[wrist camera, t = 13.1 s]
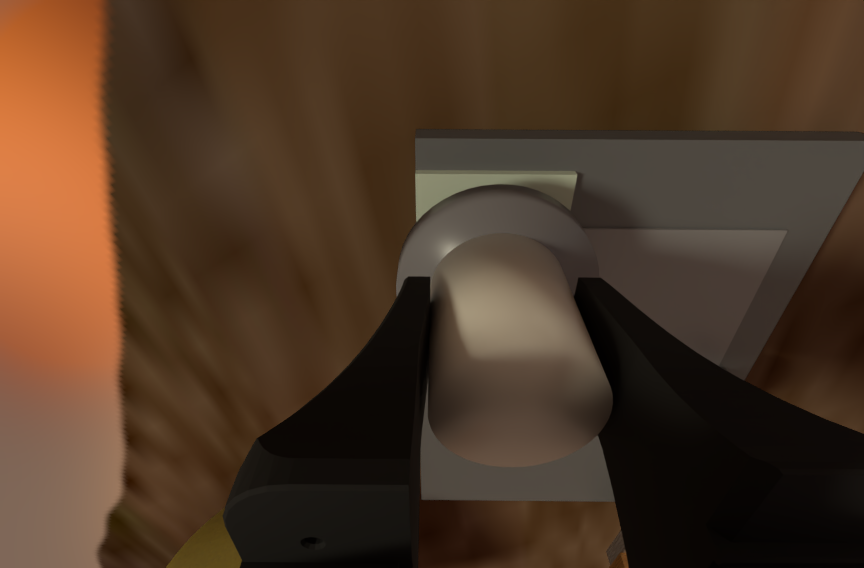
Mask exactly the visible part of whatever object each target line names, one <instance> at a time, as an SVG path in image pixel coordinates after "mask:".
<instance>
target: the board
mask: <svg viewBox="0 0 864 568" xmlns="http://www.w3.org/2000/svg"><path fill="white" fill-rule="evenodd" d="M415 154H416V170H474V171H575V172H576V173H577V180H576V185H575V190H574V195H573V200H572V205H571V210H570V211H571V213H572V214H573V215H574V216H575V217H576V218H577V220H578V221H579V223H580V225H581V226H582V228H583V230H584V232H585V233H586V235H587V237H588V239H589V241H590V242H591V244H592V246H593V249H594V251H595V254H596V256H597V261H598V266H599V278H602V279H603V280H605V281H606V282H607V283H608V284H610V285H611V286H612V287H613V288H614V289H616V290H617V291H618V292H619V293H620V294H622V295H623V296H624V297H625V298H626V299H628V300H629V301H630V302H631V303H632V304H633V305H635V306H636V307H637V308H638V309H639V310H641V311H642V312H643V313H644V314H646V315H647V316H648V317H649V318H651V319H652V320H653V321H654V322H656V323H657V324H658V325H659V326H661V327H662V328H663V329H665V330H666V331H667V332H669V333H670V334H671V335H673V336H674V337H676V338H677V339H678V340H680V341H681V342H683V343H684V344H685V345H687V346H688V347H690V348H691V349H693V350H694V351H696V352H697V353H699V354H700V355H702V356H703V357H705V358H707V359H708V360H710V361H711V362H713V363H715V364H716V365H718V366H719V367H721V368H723V369H724V370H726V371H728V372H730V373H731V374H733V375H735V376H737V377H738V378H740V379H742V380H745V379H746V377H747V375H748V373H749V372H750V370H751V368H752V366H753V365H754V363H755V361H756V359H757V358H758V356H759V354H760V352H761V351H762V349H763V347H764V345H765V344H766V342H767V340H768V338H769V337H770V335H771V333H772V331H773V330H774V328H775V326H776V324H777V322H778V321H779V319H780V317H781V315H782V314H783V312H784V310H785V308H786V307H787V305H788V303H789V301H790V300H791V298H792V296H793V294H794V293H795V291H796V289H797V287H798V286H799V284H800V282H801V280H802V279H803V277H804V275H805V273H806V272H807V270H808V268H809V266H810V265H811V263H812V261H813V259H814V258H815V256H816V254H817V252H818V251H819V249H820V247H821V245H822V244H823V242H824V240H825V238H826V237H827V235H828V233H829V231H830V230H831V228H832V226H833V224H834V222H835V221H836V219H837V217H838V215H839V214H840V212H841V210H842V208H843V207H844V205H845V203H846V201H847V200H848V198H849V196H850V194H851V193H852V191H853V189H854V187H855V186H856V184H857V182H858V180H859V179H860V177H861V175H862V173H863V172H864V134H862V133H860V132H791V131H620V130H450V129H416V136H415ZM421 499H422V500H499V501H613V502H615V499H614V495H613V490H612V486H611V482H610V478H609V474H608V470H607V466H606V462H605V458H604V454H603V450H602V447H601V444H600V440H599V437H598V435H597V436H596V437H595V438H594V439H593V440H592V441H590V442H589V443H588V444H586V445H585V446H584V447H582V448H580V449H579V450H577V451H575V452H573V453H571V454H569V455H567V456H565V457H562V458H560V459H557V460H554V461H551V462H547V463H543V464H539V465H533V466H526V467H497V466H489V465H484V464H480V463H476V462H472V461H470V460H467V459H465V458H462V457H460V456H458V455H456V454H455V453H453V452H452V451H450V450H449V449H447V448H446V447H445V446H444V445H443V444H441V443H440V441H439V440H438V439H437V438H436V436H435V435H434V433H433V432H432V430H431V427H430V424H429V420H428V385H427V393H426V402H425V410H424V418H423V427H422V436H421Z"/></svg>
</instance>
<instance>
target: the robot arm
mask: <svg viewBox="0 0 864 568" xmlns="http://www.w3.org/2000/svg"><path fill="white" fill-rule="evenodd" d="M574 299H575V302H576V304H577V306H578V309H579V311H580V314H581V316H582V319H583V321H584V323H585V326H586V328H587V331H588V333H589V336H590V338H591V340H592V343H593V345H594V348H595V350H596V353H597V355H598V357H599V360H600V362H601V365H602V367H603V370H604V372H605V374H606V377H607V379H608V382H609V384H610V387H611V390H612V395H613V406H612V411H611V414H610V417H609V419H608V421H607V423H606V424H605V426H604V428H603V429H602V430H601V431H600V433H599V434H598V437H599V440H600V444H601V447H602V450H603V454H604V458H605V462H606V466H607V470H608V474H609V478H610V482H611V486H612V490H613V495H614V499H615V503H616V508H617V512H618V517H619V521H620V526H621V531H622V536H623V541H624V546H625V551H626V556H627V561H628V566H629V568H864V434H862V433H860V432H857V431H855V430H852V429H849V428H847V427H844V426H842V425H839V424H836V423H834V422H831V421H829V420H826V419H824V418H821V417H819V416H817V415H815V414H812V413H810V412H808V411H806V410H803V409H801V408H799V407H797V406H794V405H792V404H790V403H788V402H786V401H783V400H781V399H779V398H777V397H775V396H773V395H771V394H769V393H767V392H765V391H763V390H761V389H759V388H757V387H755V386H754V385H752V384H750V383H748V382H746V381H744V380H742V379H740V378H738V377H737V376H735V375H733V374H731V373H730V372H728V371H726V370H724V369H723V368H721V367H719V366H718V365H716V364H715V363H713V362H711V361H710V360H708V359H707V358H705V357H703V356H702V355H700V354H699V353H697V352H696V351H694V350H693V349H691V348H690V347H688V346H687V345H685V344H684V343H683V342H681V341H680V340H678V339H677V338H676V337H674V336H673V335H671V334H670V333H669V332H667V331H666V330H665V329H663V328H662V327H661V326H659V325H658V324H657V323H656V322H654V321H653V320H652V319H651V318H649V317H648V316H647V315H646V314H644V313H643V312H642V311H641V310H639V309H638V308H637V307H636V306H635V305H633V304H632V303H631V302H630V301H629V300H628V299H626V298H625V297H624V296H623V295H622V294H620V293H619V292H618V291H617V290H616V289H614V288H613V287H612V286H611V285H610V284H608V283H607V282H606V281H605V280H603V279H602V278H591V277H578V281H577V286H576V290H575V294H574ZM429 331H430V277H426V276H408V277H407V278H406V279H405V280H404V282H403V285H402V287H401V290H400V292H399V294H398V296H397V298H396V300H395V302H394V304H393V305H392V307H391V309H390V310H389V312H388V314H387V315H386V317H385V319H384V320H383V322H382V323H381V325H380V326H379V328H378V329H377V330H376V332H375V333H374V335H373V336H372V337H371V339H370V340H369V341H368V343H367V344H366V345H365V347H364V348H363V349H362V350H361V352H360V353H359V354H358V355H357V356H356V357H355V358H354V360H353V361H352V362H351V363H350V364H349V365H348V366H347V367H346V368H345V369H344V370H343V371H342V372H341V373H340V374H339V375H338V376H337V377H336V378H335V379H334V380H333V381H332V382H331V383H330V384H329V385H328V386H327V387H326V388H325V389H324V390H323V391H321V392H320V393H319V394H318V395H317V396H315V397H314V398H313V399H312V400H310V401H309V402H308V403H307V404H306V405H304V406H303V407H302V408H301V409H300V410H298V411H297V412H296V413H294V414H293V415H292V416H290V417H289V418H287V419H286V420H284V421H283V422H281V423H280V424H278V425H277V426H275V427H274V428H272V429H271V430H269V431H268V432H267V433H265V434H263V435H262V436H260V437H259V438H257V439H256V441H255V442H254V444H253V446H252V448H251V450H250V451H249V453H248V455H247V457H246V459H245V461H244V463H243V464H242V466H241V468H240V470H239V472H238V475H237V477H236V479H235V482H234V485H233V487H232V490H231V493H230V495H229V498H228V501H227V504H226V506H225V510H224V513H223V520H224V524H225V527H226V529H227V531H228V533H229V535H230V537H231V539H232V541H233V543H234V545H235V547H236V549H237V551H238V553H239V555H240V557H241V559H242V562H241V565H240V568H418V544H419V496H420V452H421V436H422V427H423V418H424V410H425V402H426V393H427V385H428V369H429Z"/></svg>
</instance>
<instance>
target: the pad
mask: <svg viewBox="0 0 864 568" xmlns="http://www.w3.org/2000/svg"><path fill="white" fill-rule="evenodd" d="M415 177H416V222H417V221H418V220H419V219H420V218H421V217H422V215H424V214H425V213H426V212H427V211H428V210H429V209H430V208H432V207H433V206H434V205H436V204H437V203H439V202H440V201H442V200H443V199H445V198H447V197H449V196H451V195H453V194H455V193H458V192H461V191H464V190H467V189H470V188H474V187H479V186H483V185H494V184H509V185H517V186H524V187H528V188H531V189H535V190H538V191H540V192H542V193H545V194H547V195H549V196H551V197H553V198H554V199H556V200H557V201H559V202H560V203H562V204H563V205H564V206H565V207H566V208H567V209H569V210H571V205H572V200H573V195H574V190H575V185H576V180H577V173H576V172H575V171H474V170H416V173H415Z"/></svg>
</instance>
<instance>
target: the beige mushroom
mask: <svg viewBox="0 0 864 568" xmlns="http://www.w3.org/2000/svg"><path fill="white" fill-rule="evenodd" d="M408 276H426V277H430V331H429V369H428V420H429V424H430V427H431V430H432V432H433V433H434V435H435V436H436V438H437V439H438V440H439V441H440V443H441V444H443V445H444V446H445V447H446V448H447V449H449V450H450V451H452V452H453V453H455V454H456V455H458V456H460V457H462V458H465V459H467V460H470V461H472V462H476V463H480V464H484V465H489V466H497V467H526V466H533V465H539V464H543V463H547V462H551V461H554V460H557V459H560V458H562V457H565V456H567V455H569V454H571V453H573V452H575V451H577V450H579V449H580V448H582V447H584V446H585V445H586V444H588V443H589V442H590V441H592V440H593V439H594V438H595V437H596V436H597V435H598V434H599V433H600V431H601V430H602V429H603V428H604V426H605V424H606V423H607V421H608V419H609V417H610V414H611V411H612V406H613V395H612V390H611V387H610V384H609V382H608V379H607V377H606V374H605V372H604V370H603V367H602V365H601V362H600V360H599V357H598V355H597V353H596V350H595V348H594V345H593V343H592V340H591V338H590V336H589V333H588V331H587V328H586V326H585V323H584V321H583V319H582V316H581V314H580V311H579V309H578V306H577V304H576V302H575V299H574V294H575V290H576V286H577V281H578V277H591V278H599V266H598V261H597V256H596V254H595V251H594V249H593V246H592V244H591V242H590V241H589V239H588V237H587V235H586V233H585V232H584V230H583V228H582V226H581V225H580V223H579V221H578V220H577V218H576V217H575V216H574V215H573V214H572V213H571V211H570V210H569V209H567V208H566V207H565V206H564V205H563V204H562V203H560V202H559V201H557V200H556V199H554V198H553V197H551V196H549V195H547V194H545V193H542V192H540V191H538V190H535V189H531V188H528V187H524V186H517V185H509V184H494V185H483V186H479V187H474V188H470V189H467V190H464V191H461V192H458V193H455V194H453V195H451V196H449V197H447V198H445V199H443V200H442V201H440V202H439V203H437V204H436V205H434V206H433V207H432V208H430V209H429V210H428V211H427V212H426V213H425V214H424V215H422V217H421V218H420V219H419V220H418V221H417V222H416V223H415V225H414V226H413V228H412V229H411V231H410V232H409V234H408V235H407V238H406V240H405V242H404V244H403V247H402V250H401V253H400V258H399V265H398V274H397V282H396V295H397V296H398V294H399V292H400V290H401V287H402V285H403V282H404V280H405V279H406V278H407V277H408Z"/></svg>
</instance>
